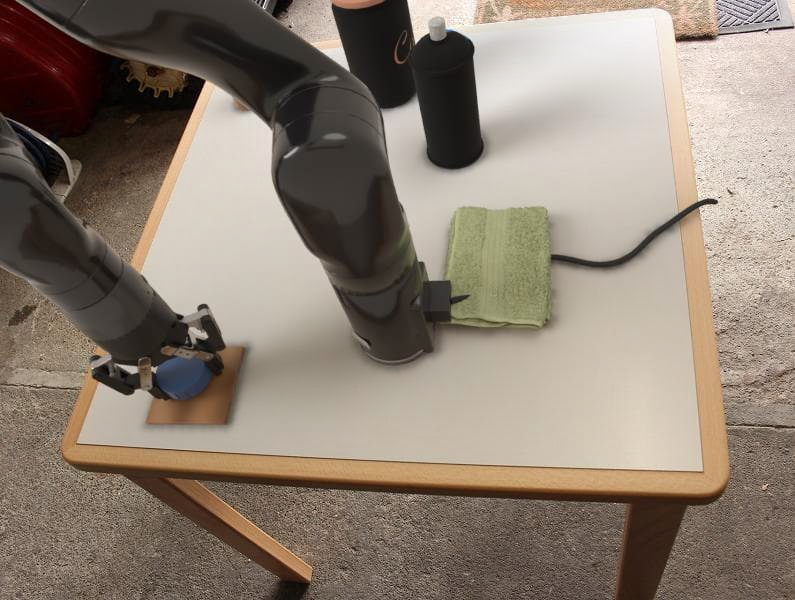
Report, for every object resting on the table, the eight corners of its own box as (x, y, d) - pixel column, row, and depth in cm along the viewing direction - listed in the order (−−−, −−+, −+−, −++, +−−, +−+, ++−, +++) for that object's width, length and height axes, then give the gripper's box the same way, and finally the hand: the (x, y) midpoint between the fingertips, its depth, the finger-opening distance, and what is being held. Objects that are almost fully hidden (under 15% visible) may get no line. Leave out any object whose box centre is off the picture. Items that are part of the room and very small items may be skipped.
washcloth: (437, 332, 71) (433, 317, 69) (452, 216, 81) (449, 200, 78) (552, 336, 68) (553, 321, 66) (554, 215, 78) (555, 198, 75)
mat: (245, 348, 75) (243, 345, 75) (226, 424, 70) (223, 422, 69) (171, 349, 77) (169, 347, 77) (147, 424, 72) (145, 422, 72)
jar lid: (178, 350, 75) (170, 341, 73) (221, 358, 73) (213, 349, 71) (154, 394, 72) (145, 387, 70) (198, 404, 70) (190, 397, 68)
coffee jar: (416, 111, 94) (393, 0, 79) (350, 112, 97) (317, 5, 82) (427, 66, 99) (408, -45, 85) (365, 69, 102) (336, -39, 87)
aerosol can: (475, 172, 84) (460, 44, 68) (419, 166, 87) (392, 42, 71) (490, 131, 88) (479, 0, 72) (436, 127, 91) (413, 0, 75)
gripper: (47, 368, 57) (142, 435, 70) (191, 300, 58) (257, 378, 72) (41, 310, 61) (132, 383, 75) (175, 247, 62) (240, 331, 76)
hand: (193, 380), depth 73 cm, fingers closed on jar lid, 6 cm apart
